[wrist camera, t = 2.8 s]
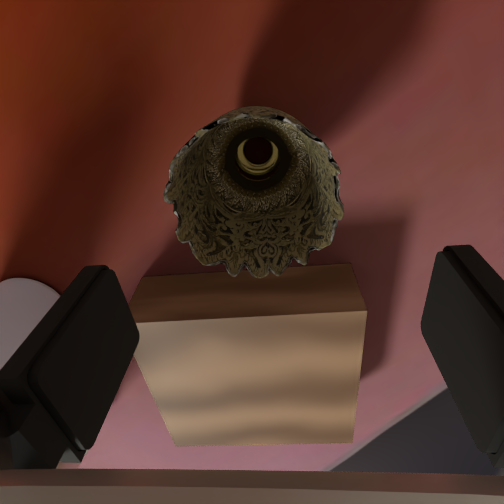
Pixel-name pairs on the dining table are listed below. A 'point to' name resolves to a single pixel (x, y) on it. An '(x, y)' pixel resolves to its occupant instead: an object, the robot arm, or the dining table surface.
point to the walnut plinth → (253, 354)
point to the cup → (255, 193)
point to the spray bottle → (21, 311)
